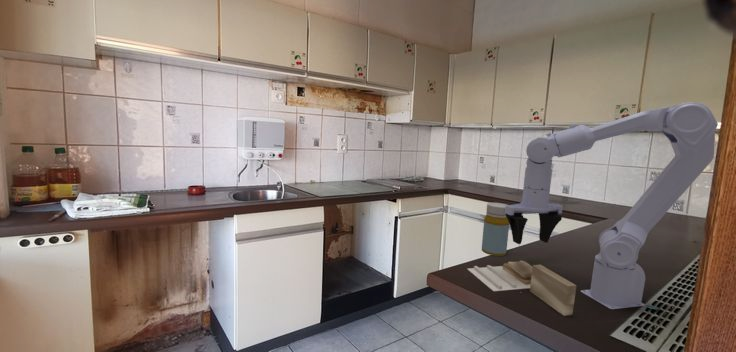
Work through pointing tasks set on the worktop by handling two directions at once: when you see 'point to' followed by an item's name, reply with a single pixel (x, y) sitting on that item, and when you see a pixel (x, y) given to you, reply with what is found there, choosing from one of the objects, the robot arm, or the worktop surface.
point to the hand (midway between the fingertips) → (530, 241)
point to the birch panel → (553, 289)
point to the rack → (497, 278)
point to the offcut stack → (519, 271)
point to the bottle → (495, 230)
